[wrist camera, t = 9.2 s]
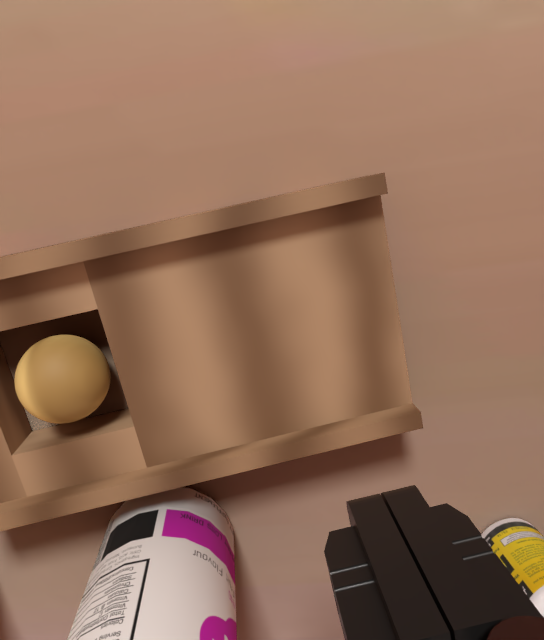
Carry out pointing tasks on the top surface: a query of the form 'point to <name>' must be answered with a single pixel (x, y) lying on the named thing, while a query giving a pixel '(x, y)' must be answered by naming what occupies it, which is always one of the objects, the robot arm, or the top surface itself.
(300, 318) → the wooden slide tray
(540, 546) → the supplement bottle
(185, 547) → the supplement can
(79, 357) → the ball
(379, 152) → the top surface
